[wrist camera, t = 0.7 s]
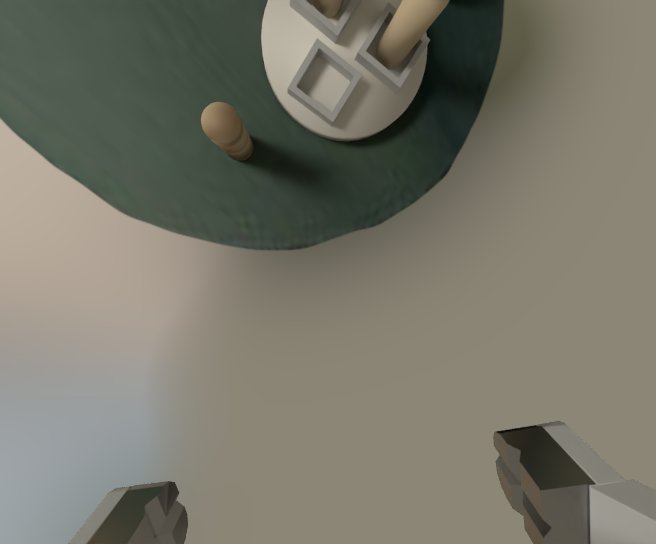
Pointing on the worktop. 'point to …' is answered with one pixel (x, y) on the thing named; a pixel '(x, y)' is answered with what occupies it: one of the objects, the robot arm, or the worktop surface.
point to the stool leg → (227, 130)
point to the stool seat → (346, 61)
